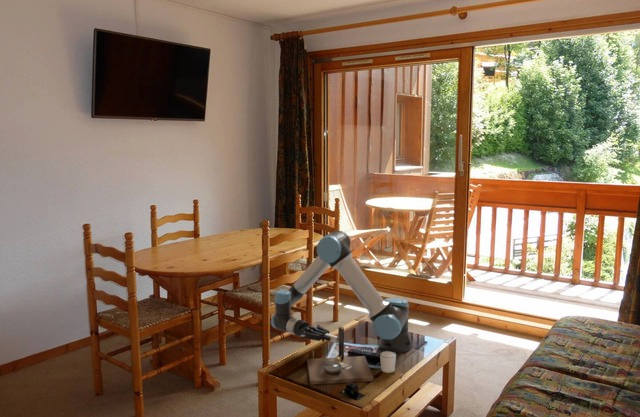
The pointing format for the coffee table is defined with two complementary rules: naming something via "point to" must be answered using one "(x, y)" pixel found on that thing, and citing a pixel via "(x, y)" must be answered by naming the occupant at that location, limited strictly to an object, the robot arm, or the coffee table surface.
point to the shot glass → (387, 361)
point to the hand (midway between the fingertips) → (337, 340)
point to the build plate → (352, 391)
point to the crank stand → (350, 370)
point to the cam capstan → (335, 365)
